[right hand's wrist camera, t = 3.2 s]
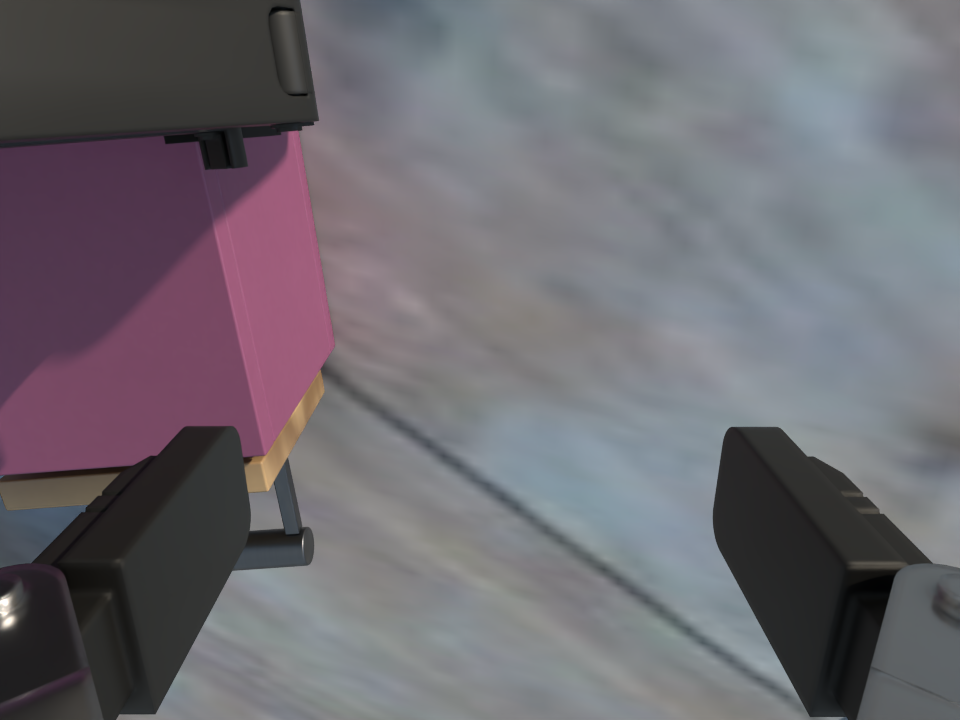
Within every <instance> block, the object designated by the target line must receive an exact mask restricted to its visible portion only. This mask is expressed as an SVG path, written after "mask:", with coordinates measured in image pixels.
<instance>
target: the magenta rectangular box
mask: <svg viewBox="0 0 960 720" xmlns="http://www.w3.org/2000/svg"><path fill="white" fill-rule="evenodd" d="M243 141H244V146H245V151H246V156H247V161H248V167H243V168H235V169H232V168H230V169H214V170H211V169H210V170H205V168H204V163H203V159H202V154H201V149H200V145H199V142H188V143H175V144H165V140H164V136H158V137H145V138H132V139H119V140H106V141H93V142H80V143H67V144H54V145H41V146H29V147H16V148H3V149H0V476H1V475H14V474H28V473H41V472H54V471H68V470H81V469H94V468H108V467H121V466H133V465H135V464H136V463H138V462H140V461H142V460H143V459H145V458H147V457H149V456H157V455H158V454H159V453H160V452H161V451H162V450H163V449H164V448H165V447H166V445H167V444H168V443H169V442H170V441H171V440H172V439H173V438H174V437H175V436H176V435H177V434H178V433H179V431H180V430H181V429H182V428H184V427H185V426H233V427H235V428H236V429H237V431H238V433H239V436H240V441H241V447H242V454H243V457H254V456H265V455H267V453H268V451H269V450H270V448H271V447H272V445H273V444H274V441H275V440H276V439H277V437H278V435H279V434H280V432H281V431H282V429H283V427H284V426H285V424H286V423H287V421H288V420H289V418H290V416H291V415H292V413H293V412H294V410H295V409H296V407H297V405H298V404H299V402H300V401H301V399H302V397H303V396H304V394H305V393H306V391H307V390H308V388H309V386H310V385H311V383H312V382H313V380H314V378H315V377H316V375H317V374H318V372H319V371H320V369H321V367H322V366H323V364H324V363H325V361H326V359H327V358H328V356H329V355H330V353H331V352H332V350H333V349H334V347H335V342H334V337H333V331H332V325H331V319H330V313H329V307H328V302H327V296H326V290H325V284H324V278H323V272H322V266H321V261H320V255H319V249H318V243H317V237H316V231H315V226H314V220H313V214H312V208H311V202H310V196H309V190H308V185H307V179H306V173H305V167H304V161H303V155H302V150H301V144H300V138H299V132H298V131H290V132H281V135H276V136H265V137H253V138H243Z"/></svg>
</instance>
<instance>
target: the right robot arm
mask: <svg viewBox="0 0 960 720" xmlns="http://www.w3.org/2000/svg"><path fill="white" fill-rule="evenodd" d="M250 521H251V512H250V503H249V496H248V489H247V482H246V475H245V468H244V461H243V454H242V447H241V441H240V436H239V433H238V431H237V429H236V428H235V427H233V426H185V427H184V428H182V429H181V430H180V431H179V433H178V434H177V435H176V436H175V437H174V438H173V439H172V440H171V441H170V442H169V443H168V444H167V445H166V447H165V448H164V449H163V450H162V451H161V452H160V453H159V454H158V455H157V456H149V457H147V458H145V459H143V460H142V461H140V462H138V463H136V464H135V465H133V466H131V467H129V468H128V469H126V470H124V471H122V472H121V473H120V474H119V475H118V476H117V477H116V478H115V479H114V480H113V481H112V482H111V483H110V484H109V485H108V486H107V487H106V488H105V489H104V490H103V491H102V495H101V496H97V497H96V498H95V499H94V500H93V501H92V502H91V503H90V504H89V505H88V506H87V507H86V511H85V512H81V513H80V514H79V515H78V516H77V517H76V518H75V519H74V520H73V521H72V522H71V524H70V525H69V526H68V527H67V528H66V529H65V530H64V531H63V532H62V533H61V534H60V535H59V536H58V537H57V538H56V539H55V540H54V541H53V542H52V543H51V544H50V545H49V546H48V547H47V548H46V549H45V550H44V551H43V552H42V553H41V554H40V555H39V556H38V557H37V558H36V559H35V560H34V561H33V562H32V563H31V564H19V565H13V566H8V567H3V568H0V720H116V719H117V717H118V715H119V714H156V712H157V710H158V708H159V706H160V705H161V703H162V701H163V699H164V697H165V695H166V693H167V692H168V690H169V688H170V686H171V684H172V682H173V680H174V678H175V677H176V675H177V673H178V671H179V669H180V667H181V665H182V664H183V662H184V660H185V658H186V656H187V654H188V652H189V650H190V649H191V647H192V645H193V643H194V641H195V639H196V637H197V636H198V634H199V632H200V630H201V628H202V626H203V624H204V622H205V621H206V619H207V617H208V615H209V613H210V611H211V609H212V607H213V606H214V604H215V602H216V600H217V598H218V596H219V594H220V593H221V591H222V589H223V587H224V585H225V583H226V581H227V579H228V578H229V576H230V574H231V572H232V570H233V568H234V566H235V565H236V563H237V561H238V559H239V557H240V555H241V553H242V551H243V550H244V548H245V545H246V543H247V539H248V535H249V530H250ZM713 528H714V534H715V539H716V542H717V545H718V548H719V550H720V552H721V553H722V555H723V557H724V559H725V561H726V563H727V565H728V566H729V568H730V570H731V572H732V574H733V576H734V577H735V579H736V581H737V583H738V585H739V587H740V589H741V590H742V592H743V594H744V596H745V598H746V600H747V601H748V603H749V605H750V607H751V609H752V611H753V612H754V614H755V616H756V618H757V620H758V622H759V624H760V625H761V627H762V629H763V631H764V633H765V635H766V636H767V638H768V640H769V642H770V644H771V646H772V648H773V649H774V651H775V653H776V655H777V657H778V659H779V660H780V662H781V664H782V666H783V668H784V670H785V672H786V673H787V675H788V677H789V679H790V681H791V683H792V684H793V686H794V688H795V690H796V692H797V694H798V696H799V697H800V699H801V701H802V703H803V705H804V707H805V708H806V710H807V712H808V714H809V716H810V717H847V718H848V720H960V568H957V567H952V566H947V565H941V564H933V563H932V562H931V561H930V560H929V559H928V558H927V557H926V556H925V555H924V554H923V553H922V552H921V551H920V550H919V549H918V548H917V547H916V546H915V545H914V544H913V543H912V542H911V541H910V540H909V539H908V538H907V537H906V536H905V535H904V534H903V533H902V532H901V531H900V530H899V529H898V528H897V527H896V526H895V525H894V524H893V523H892V522H891V521H890V520H889V519H888V518H887V517H886V516H885V515H884V514H880V513H879V509H878V508H877V507H876V506H875V505H874V504H873V503H872V502H871V501H870V500H869V499H868V498H867V497H863V493H862V492H861V491H860V490H859V489H858V488H857V487H856V486H855V485H854V484H853V483H852V482H851V481H850V480H849V479H848V478H847V477H846V476H845V475H844V474H843V473H842V472H840V471H838V470H836V469H835V468H833V467H831V466H829V465H828V464H826V463H824V462H822V461H821V460H819V459H817V458H815V457H807V456H806V455H805V454H804V453H803V452H802V450H801V449H800V448H799V447H798V446H797V445H796V444H795V443H794V442H793V441H792V440H791V439H790V438H789V437H788V436H787V434H786V433H785V432H784V431H783V430H782V429H780V428H778V427H730V428H729V429H728V430H727V432H726V434H725V436H724V440H723V446H722V453H721V460H720V466H719V473H718V480H717V487H716V494H715V501H714V508H713Z"/></svg>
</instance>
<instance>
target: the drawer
mask: <svg viewBox="0 0 960 720" xmlns="http://www.w3.org/2000/svg"><path fill="white" fill-rule="evenodd" d="M324 392H325V391H324V385H323V380H322V374H321V370H320V371H319V372H318V374H317V375H316V377H315V378H314V380H313V382H312V383H311V385H310V386H309V388H308V390H307V391H306V393H305V394H304V396H303V397H302V399H301V401H300V402H299V404H298V405H297V407H296V409H295V410H294V412H293V413H292V415H291V416H290V418H289V420H288V421H287V423H286V424H285V426H284V427H283V429H282V431H281V432H280V434H279V435H278V437H277V439H276V440H275V441H274V444H273V445H272V447H271V448H270V450H269V451H268V453H267V455H265V456H254V457H243V461H244V468H245V475H246V482H247V489H248V493H255V492H267V491H269V489H270V488H271V486H272V484H273V482H274V485H275V489H276V494H277V498H278V503H279V507H280V512H281V516H282V521H283V525H284V529H271V530H257V531H249V535H248V539H247V543H246V545H245V548H244V550H243V551H242V553H241V555H240V557H239V559H238V561H237V563H236V565H235V566H234V568H233V570H232V571H235V570H250V569H264V568H279V567H293V566H307V565H309V564H310V563H311V561H312V558H313V554H314V538H313V533H312V530H311V529H310V528H309V527H302V522H301V518H300V513H299V508H298V503H297V499H296V494H295V489H294V484H293V480H292V475H291V470H290V465H289V461H288V456H289V454H290V452H291V450H292V449H293V447H294V445H295V443H296V442H297V440H298V438H299V436H300V435H301V433H302V431H303V429H304V427H305V426H306V424H307V422H308V420H309V419H310V417H311V415H312V413H313V412H314V410H315V408H316V406H317V404H318V403H319V401H320V399H321V397H322V396H323V394H324ZM129 467H131V466H121V467H108V468H94V469H81V470H68V471H54V472H41V473H28V474H14V475H5V476H3V477H2V478H1V479H0V495H1V497H2V500H3V502H4V505H5V508H6V510H8V511H9V510H23V509H36V508H50V507H64V506H77V505H89V504H90V503H91V502H92V501H93V500H94V499H95V498H96V497H97V496H101V495H102V491H103V490H104V489H105V488H106V487H107V486H108V485H109V484H110V483H111V482H112V481H113V480H114V479H115V478H116V477H117V476H118V475H119V474H120V473H121V472H122V471H124V470H126V469H128V468H129Z"/></svg>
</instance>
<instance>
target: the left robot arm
mask: <svg viewBox="0 0 960 720" xmlns="http://www.w3.org/2000/svg"><path fill="white" fill-rule="evenodd" d="M314 121H319V117H318V111H317V105H316V98H315V92H314V86H313V80H312V73H311V67H310V61H309V54H308V48H307V42H306V35H305V29H304V23H303V16H302V10H301V4H300V0H0V149H3V148H16V147H29V146H41V145H54V144H67V143H80V142H93V141H106V140H119V139H132V138H145V137H158V136H164V140H165V144H175V143H188V142H199V145H200V149H201V154H202V159H203V163H204V168H205V170H210V169H211V170H214V169H230V168H232V169H235V168H243V167H248V161H247V156H246V151H245V146H244V141H243V138H253V137H265V136H276V135H281V132H290V131H301V130H302V126H310V125H314Z"/></svg>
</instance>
